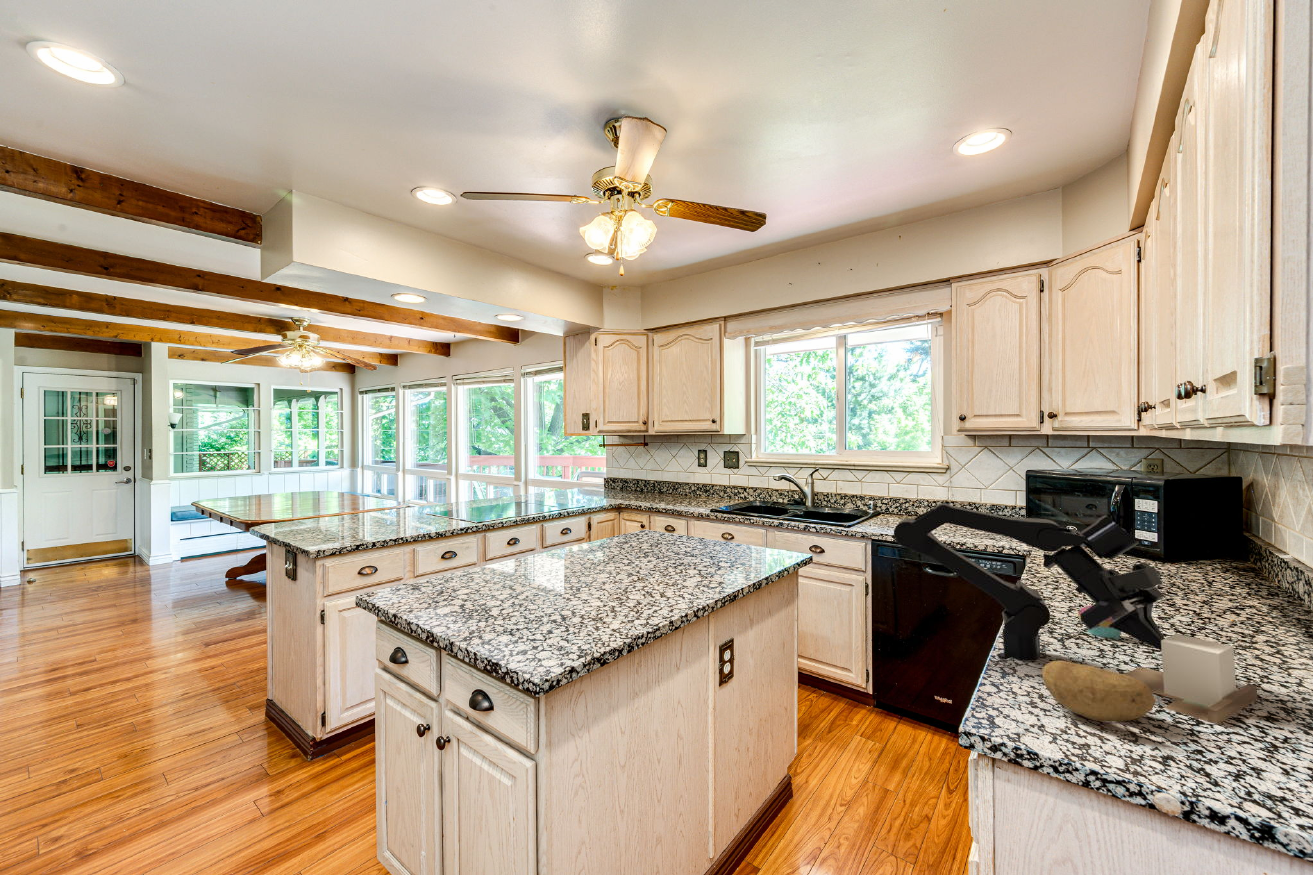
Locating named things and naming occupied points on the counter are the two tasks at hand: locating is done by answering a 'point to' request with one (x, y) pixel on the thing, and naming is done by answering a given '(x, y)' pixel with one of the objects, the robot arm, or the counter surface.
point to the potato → (1097, 692)
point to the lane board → (1209, 714)
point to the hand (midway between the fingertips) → (1167, 650)
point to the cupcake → (1102, 627)
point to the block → (1197, 669)
